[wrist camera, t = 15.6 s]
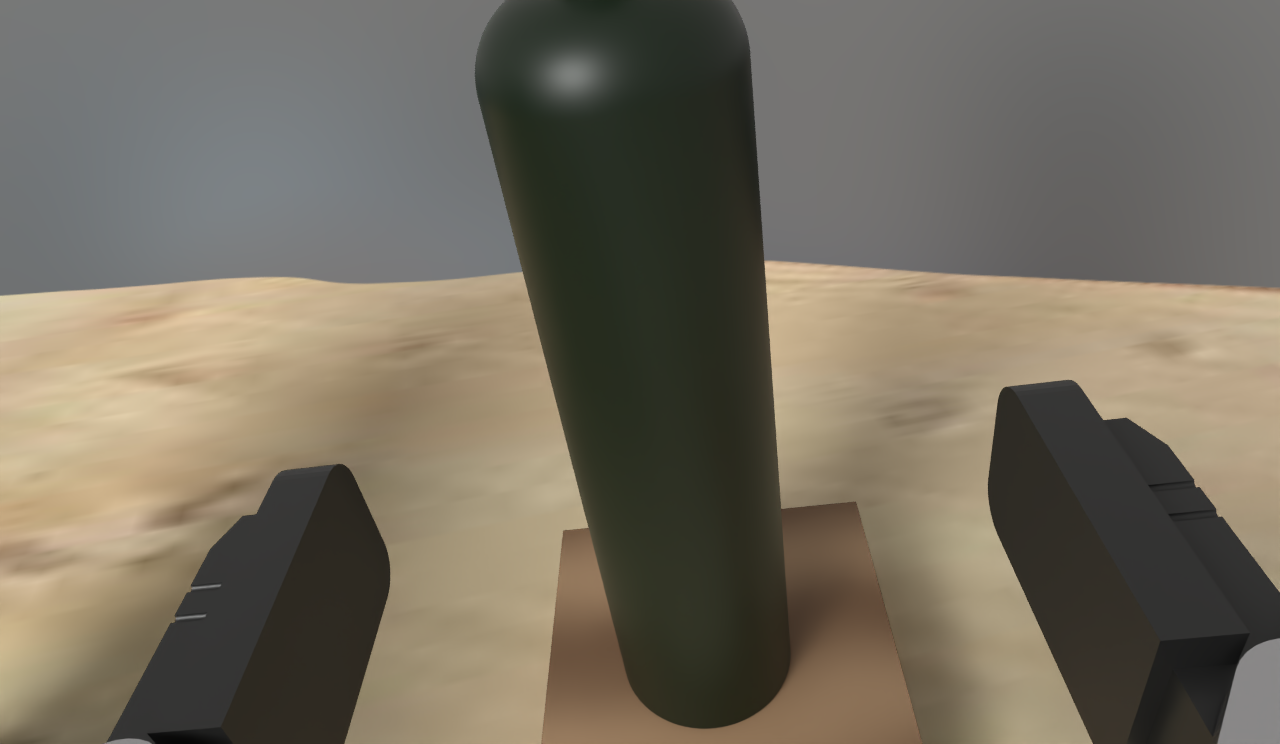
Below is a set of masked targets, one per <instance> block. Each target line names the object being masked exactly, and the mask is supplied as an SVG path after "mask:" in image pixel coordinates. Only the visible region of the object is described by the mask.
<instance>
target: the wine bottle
mask: <svg viewBox="0 0 1280 744" xmlns="http://www.w3.org/2000/svg"><path fill="white" fill-rule="evenodd" d="M475 81H476V82H475V83H476V90H477V95H478V100H479V104H480V107H481V111H482V115H483V119H484V123H485V127H486V131H487V135H488V139H489V142H490V146H491V150H492V154H493V158H494V162H495V166H496V170H497V174H498V177H499V181H500V185H501V189H502V193H503V197H504V201H505V205H506V209H507V212H508V216H509V220H510V224H511V228H512V232H513V236H514V239H515V244H516V247H517V251H518V255H519V259H520V263H521V267H522V271H523V275H524V279H525V282H526V286H527V290H528V294H529V298H530V302H531V306H532V310H533V314H534V317H535V321H536V325H537V329H538V333H539V337H540V341H541V345H542V348H543V352H544V356H545V360H546V364H547V368H548V372H549V376H550V380H551V383H552V387H553V391H554V395H555V399H556V403H557V407H558V411H559V415H560V418H561V422H562V426H563V430H564V434H565V438H566V442H567V446H568V450H569V453H570V457H571V461H572V465H573V469H574V473H575V477H576V481H577V485H578V488H579V492H580V496H581V500H582V504H583V508H584V512H585V516H586V519H587V523H588V527H589V531H590V535H591V539H592V543H593V547H594V551H595V554H596V558H597V562H598V566H599V570H600V574H601V578H602V582H603V586H604V589H605V593H606V597H607V601H608V605H609V609H610V613H611V617H612V621H613V624H614V628H615V632H616V636H617V640H618V644H619V648H620V652H621V655H622V659H623V663H624V667H625V671H626V675H627V678H628V681H629V684H630V686H631V688H632V690H633V691H634V693H635V695H636V696H637V697H638V699H639V700H640V701H641V702H642V703H643V704H644V705H645V706H646V707H647V708H648V709H649V710H650V711H652V712H653V713H654V714H656V715H657V716H659V717H661V718H663V719H664V720H667V721H669V722H671V723H674V724H677V725H680V726H684V727H689V728H697V729H712V728H720V727H725V726H729V725H733V724H736V723H739V722H741V721H743V720H746V719H748V718H750V717H751V716H753V715H755V714H756V713H758V712H759V711H760V710H762V709H763V708H764V707H765V706H766V705H768V704H769V703H770V702H771V700H772V699H773V698H774V697H775V696H776V694H777V693H778V692H779V690H780V689H781V687H782V685H783V683H784V681H785V679H786V676H787V673H788V670H789V666H790V658H791V650H790V635H789V620H788V605H787V590H786V576H785V561H784V546H783V531H782V516H781V502H780V487H779V472H778V457H777V442H776V428H775V413H774V398H773V383H772V368H771V354H770V339H769V324H768V309H767V294H766V280H765V265H764V251H763V235H762V222H761V206H760V191H759V177H758V161H757V147H756V132H755V119H754V118H755V117H754V102H753V88H752V74H751V59H750V46H749V40H748V36H747V32H746V28H745V25H744V23H743V20H742V18H741V16H740V14H739V12H738V10H737V8H736V6H735V5H734V3H733V2H732V0H505V2H504V3H503V4H502V5H501V6H500V7H499V8H498V9H497V10H496V12H495V13H494V15H493V16H492V17H491V19H490V21H489V22H488V24H487V26H486V28H485V30H484V32H483V35H482V37H481V40H480V43H479V47H478V51H477V56H476V64H475Z"/></svg>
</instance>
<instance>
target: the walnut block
mask: <svg viewBox="0 0 1280 744" xmlns="http://www.w3.org/2000/svg"><path fill="white" fill-rule="evenodd" d="M781 516H782V531H783V546H784V561H785V576H786V590H787V605H788V620H789V635H790V650H791V658H790V666H789V670H788V673H787V676H786V679H785V681H784V683H783V685H782V687H781V689H780V690H779V692H778V693H777V694H776V696H775V697H774V698H773V699H772V700H771V702H770V703H769V704H768V705H766V706H765V707H764V708H763V709H762V710H760V711H759V712H758V713H756V714H755V715H753V716H751V717H750V718H748V719H746V720H743V721H741V722H739V723H736V724H733V725H729V726H725V727H720V728H712V729H697V728H689V727H684V726H680V725H677V724H674V723H671V722H669V721H667V720H664V719H663V718H661V717H659V716H657V715H656V714H654V713H653V712H652V711H650V710H649V709H648V708H647V707H646V706H645V705H644V704H643V703H642V702H641V701H640V700H639V699H638V697H637V696H636V695H635V693H634V691H633V690H632V688H631V686H630V684H629V681H628V678H627V675H626V671H625V667H624V663H623V659H622V655H621V652H620V648H619V644H618V640H617V636H616V632H615V628H614V624H613V621H612V617H611V613H610V609H609V605H608V601H607V597H606V593H605V589H604V586H603V582H602V578H601V574H600V570H599V566H598V562H597V558H596V554H595V551H594V547H593V543H592V539H591V535H590V531H589V528H585V529H575V530H565V531H563V538H562V548H561V558H560V568H559V577H558V587H557V597H556V607H555V616H554V626H553V636H552V646H551V655H550V665H549V675H548V685H547V694H546V704H545V714H544V724H543V733H542V743H541V744H922V740H921V737H920V733H919V730H918V726H917V722H916V719H915V715H914V711H913V708H912V704H911V700H910V697H909V693H908V689H907V686H906V682H905V679H904V675H903V671H902V668H901V664H900V660H899V657H898V653H897V649H896V646H895V642H894V639H893V635H892V631H891V628H890V624H889V620H888V617H887V613H886V609H885V606H884V602H883V598H882V595H881V591H880V588H879V584H878V580H877V577H876V573H875V569H874V566H873V562H872V558H871V555H870V551H869V548H868V544H867V540H866V537H865V533H864V529H863V526H862V522H861V518H860V515H859V511H858V507H857V504H856V502H848V503H837V504H827V505H817V506H807V507H797V508H787V509H781Z"/></svg>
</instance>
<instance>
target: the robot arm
mask: <svg viewBox="0 0 1280 744" xmlns="http://www.w3.org/2000/svg"><path fill="white" fill-rule="evenodd" d="M988 497H989V505H990V511H991V515H992V519H993V523H994V526H995V529H996V532H997V534H998V536H999V538H1000V541H1001V543H1002V545H1003V547H1004V549H1005V552H1006V554H1007V556H1008V558H1009V560H1010V563H1011V565H1012V567H1013V569H1014V571H1015V574H1016V576H1017V578H1018V580H1019V582H1020V585H1021V587H1022V589H1023V591H1024V593H1025V595H1026V598H1027V600H1028V602H1029V604H1030V606H1031V609H1032V611H1033V613H1034V615H1035V617H1036V620H1037V622H1038V624H1039V626H1040V628H1041V631H1042V633H1043V635H1044V637H1045V639H1046V642H1047V644H1048V646H1049V648H1050V650H1051V652H1052V655H1053V657H1054V659H1055V661H1056V663H1057V666H1058V668H1059V670H1060V672H1061V674H1062V677H1063V679H1064V681H1065V683H1066V685H1067V688H1068V690H1069V692H1070V694H1071V696H1072V699H1073V701H1074V703H1075V705H1076V707H1077V709H1078V712H1079V714H1080V716H1081V718H1082V720H1083V723H1084V725H1085V727H1086V729H1087V731H1088V734H1089V736H1090V738H1091V740H1092V742H1093V744H1280V592H1279V591H1278V590H1277V588H1276V587H1275V586H1274V585H1273V583H1272V582H1271V581H1270V579H1269V578H1268V577H1267V575H1266V574H1265V573H1264V571H1263V570H1262V569H1261V567H1260V566H1259V565H1258V563H1257V562H1256V561H1255V559H1254V558H1253V557H1252V556H1251V554H1250V553H1249V552H1248V550H1247V549H1246V548H1245V546H1244V545H1243V544H1242V542H1241V541H1240V540H1239V538H1238V537H1237V536H1236V534H1235V533H1234V532H1233V530H1232V529H1231V528H1230V527H1229V525H1228V524H1227V523H1226V521H1225V520H1224V519H1223V517H1218V516H1217V514H1216V508H1215V507H1214V505H1213V504H1212V503H1211V501H1210V500H1209V499H1208V498H1207V496H1206V495H1205V494H1204V492H1203V491H1202V490H1201V488H1200V487H1197V488H1196V487H1195V484H1194V479H1193V478H1192V476H1191V475H1190V474H1189V472H1188V471H1187V470H1186V469H1185V467H1184V466H1183V465H1182V463H1181V462H1180V461H1179V459H1178V458H1177V457H1176V455H1175V454H1174V453H1173V451H1172V450H1171V449H1170V447H1169V446H1168V445H1167V444H1165V443H1164V442H1162V441H1161V440H1159V439H1158V438H1156V437H1155V436H1153V435H1152V434H1150V433H1149V432H1147V431H1146V430H1144V429H1143V428H1141V427H1140V426H1138V425H1137V424H1135V423H1134V422H1132V421H1131V420H1129V419H1128V418H1120V419H1111V420H1103V419H1102V418H1101V416H1100V415H1099V413H1098V412H1097V411H1096V409H1095V408H1094V406H1093V405H1092V403H1091V402H1090V400H1089V399H1088V398H1087V396H1086V395H1085V393H1084V392H1083V390H1082V389H1081V388H1080V386H1079V385H1078V384H1077V383H1076V382H1074V381H1072V380H1063V381H1054V382H1045V383H1036V384H1027V385H1019V386H1010V387H1005V388H1003V389H1002V391H1001V393H1000V395H999V399H998V405H997V413H996V421H995V429H994V437H993V445H992V454H991V462H990V470H989V478H988ZM191 587H192V590H191V592H188V593H187V594H186V595H185V597H184V599H183V601H182V603H181V605H180V607H179V609H178V610H177V612H176V614H175V617H176V621H175V623H170V625H169V627H168V629H167V631H166V633H165V635H164V637H163V638H162V640H161V642H160V644H159V646H158V648H157V650H156V652H155V653H154V655H153V657H152V659H151V661H150V663H149V665H148V666H147V668H146V670H145V672H144V674H143V676H142V678H141V680H140V681H139V683H138V685H137V687H136V689H135V691H134V693H133V695H132V696H131V698H130V700H129V702H128V704H127V706H126V708H125V710H124V711H123V713H122V715H121V717H120V719H119V721H118V723H117V724H116V726H115V728H114V730H113V732H112V734H111V736H110V737H109V739H108V741H107V742H106V743H104V744H344V743H345V739H346V736H347V733H348V729H349V726H350V722H351V719H352V716H353V712H354V709H355V705H356V702H357V699H358V695H359V692H360V689H361V685H362V682H363V678H364V675H365V672H366V668H367V665H368V662H369V658H370V655H371V651H372V648H373V645H374V641H375V638H376V634H377V631H378V628H379V624H380V621H381V618H382V614H383V611H384V607H385V604H386V601H387V597H388V593H389V587H390V563H389V557H388V552H387V549H386V546H385V544H384V541H383V539H382V537H381V535H380V533H379V530H378V528H377V526H376V524H375V522H374V520H373V517H372V515H371V513H370V511H369V509H368V506H367V504H366V502H365V500H364V498H363V496H362V493H361V491H360V489H359V487H358V485H357V482H356V480H355V478H354V476H353V474H352V472H351V471H350V470H349V468H347V467H346V466H345V465H343V464H336V465H327V466H318V467H309V468H300V469H291V470H284V471H281V472H280V473H278V475H277V476H276V477H275V478H274V480H273V482H272V484H271V486H270V488H269V490H268V492H267V494H266V496H265V498H264V500H263V502H262V504H261V506H260V508H259V510H258V512H257V514H256V515H247V516H242V517H241V518H240V519H239V520H238V521H237V523H236V524H235V525H234V526H233V527H232V528H231V529H230V530H229V531H228V532H227V533H226V534H225V535H224V536H223V537H222V538H221V539H220V540H219V541H218V542H217V543H216V544H215V545H214V546H213V547H212V548H211V549H210V551H209V552H208V554H207V556H206V558H205V560H204V562H203V564H202V565H201V567H200V569H199V571H198V573H197V575H196V577H195V579H194V580H193V582H192V584H191Z"/></svg>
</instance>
